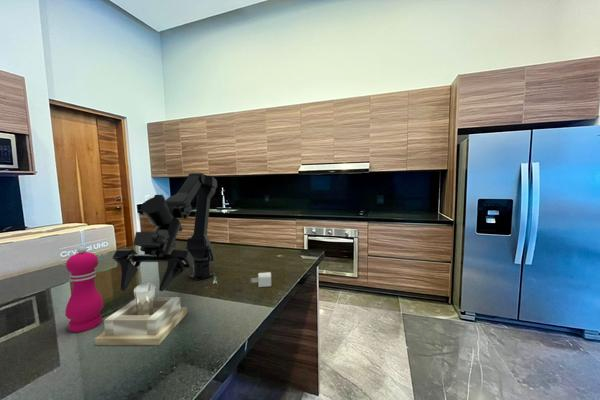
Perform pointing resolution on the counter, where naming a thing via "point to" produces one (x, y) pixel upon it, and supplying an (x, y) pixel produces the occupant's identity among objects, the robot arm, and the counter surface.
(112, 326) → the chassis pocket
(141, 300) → the milkshake
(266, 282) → the usb wall charger
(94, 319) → the pepper mill
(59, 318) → the counter surface
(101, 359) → the counter surface
